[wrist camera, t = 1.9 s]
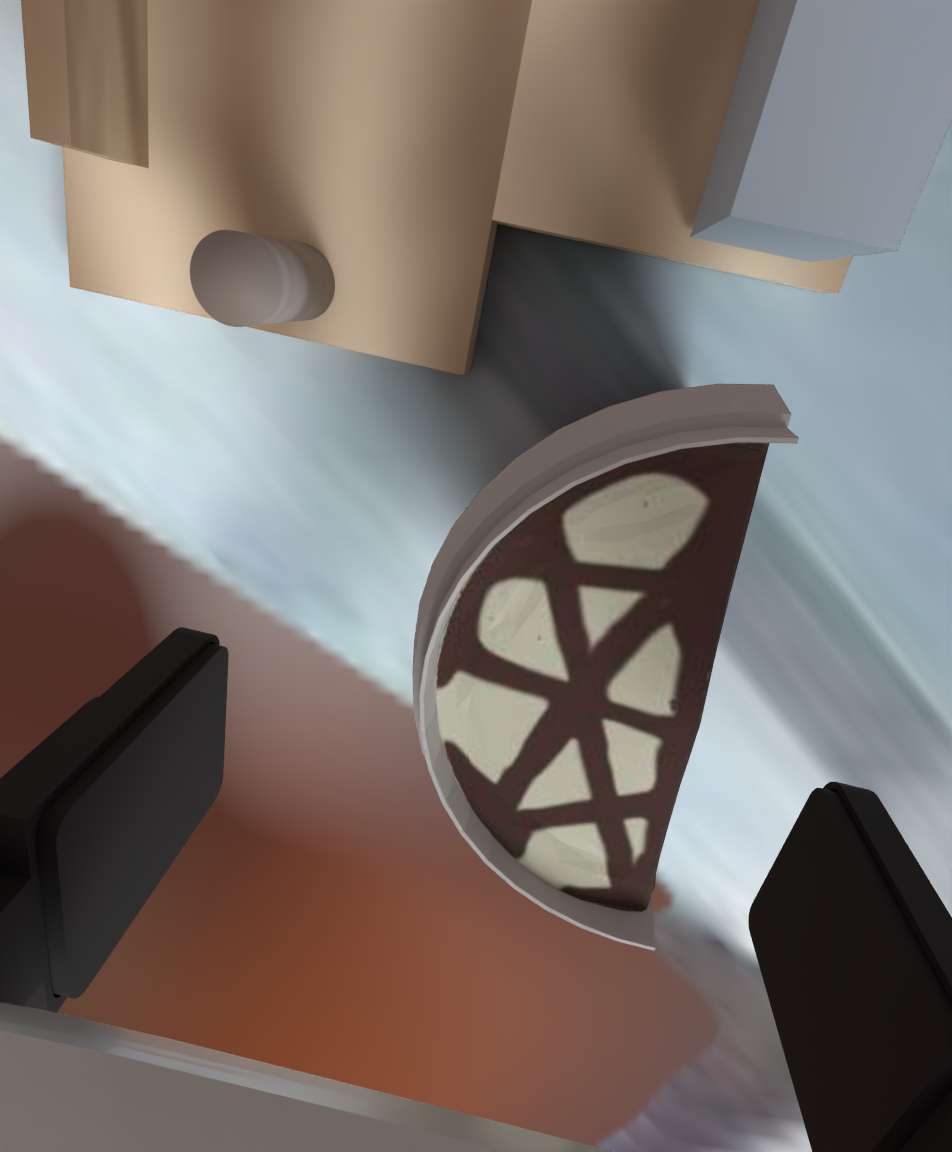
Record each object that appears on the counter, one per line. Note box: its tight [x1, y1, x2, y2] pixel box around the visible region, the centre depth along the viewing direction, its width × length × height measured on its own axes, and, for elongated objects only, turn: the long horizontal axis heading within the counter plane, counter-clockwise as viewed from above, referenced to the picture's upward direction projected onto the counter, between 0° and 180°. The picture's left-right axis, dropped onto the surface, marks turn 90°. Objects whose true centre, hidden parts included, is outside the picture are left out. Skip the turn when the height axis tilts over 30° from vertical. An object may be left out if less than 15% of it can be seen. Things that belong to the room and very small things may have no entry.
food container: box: [413, 384, 798, 951], centre depth 17 cm, size 12×6×10 cm, turn 175°
